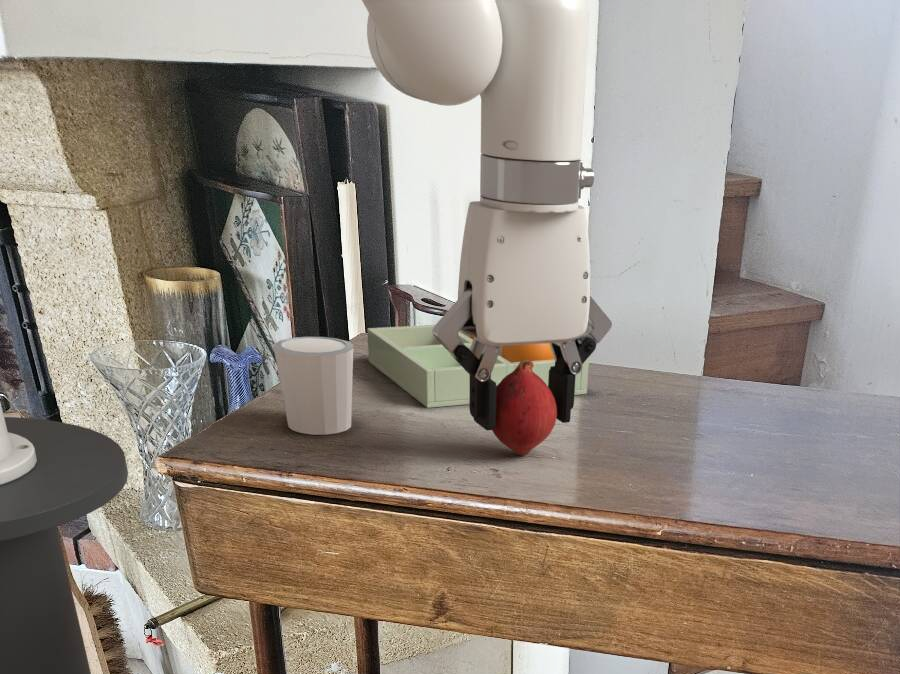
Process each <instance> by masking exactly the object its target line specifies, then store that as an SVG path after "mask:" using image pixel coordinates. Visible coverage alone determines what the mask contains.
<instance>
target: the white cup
mask: <svg viewBox="0 0 900 674" xmlns="http://www.w3.org/2000/svg"><path fill="white" fill-rule="evenodd" d="M273 353H274V357H275V362H276V366H277V373H278V378H279V383H280V389H281V395H282V400H283V406H284V411H285V416H286V422H287V427H288V428H289V429H290V430H292V431H293V432H296V433H300V434H303V435H314V436H315V435H317V436H319V435H320V436H327V435H335V434H340V433H343V432H346V431H348V430H349V429H350V428H352V409H353V407H352V406H353V375H354V374H353V373H354V371H353V370H354V344H353V343H351V342H350V341H348V340H345V339H340V338H335V337H327V336H296V337H290V338H289V337H288V338H285V339H280V340H279V341H276V342H275V343H274V344H273Z"/></svg>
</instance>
